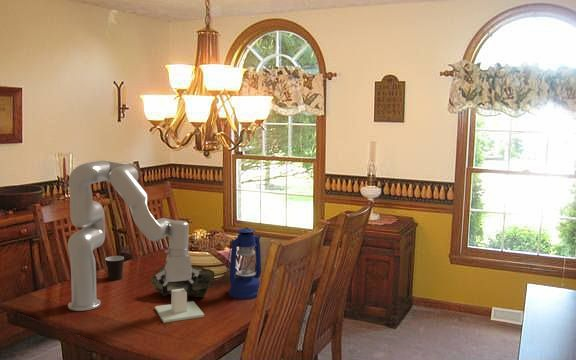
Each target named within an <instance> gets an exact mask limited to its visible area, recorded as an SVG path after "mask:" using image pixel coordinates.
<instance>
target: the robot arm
mask: <svg viewBox="0 0 576 360" xmlns="http://www.w3.org/2000/svg"><path fill="white" fill-rule="evenodd" d="M138 180H139V171H138V169H136V167H134V166H132V165H131V164H124V163H120V162H116V161H115V162H114V161H110V160H109V161H108V160H96V161H90V162H89V161H88V162H85V163H81V164H80V165H78V166H76V167H75V168H73V170H72V171H71V172H70V175H69V178H68V185H69V187H68V188H69V208H70V209H69V210H70V211H69V212H70V213H69V215H70V216H69V218H70V222H71V223H72V225H73V226H74V227H75V228H81V229H79V230H78V231H75V232H74V233H73V234H71V235H70V237H68V242H67V249H68V253H69V254H68V255H69V260H70V278H71V280H70V281H71V283H70V284H71V301H69V302H68V303H67V308H68V309H69V310H70V311H75V312H83V311H84V312H85V311H90V310H93V309H96V308H99V307H100V306H101V302H102V301H101V300H100V299H98V298H97V264H96V257H95V255H94V250H96V249H98V248H100V247H101V246H102V245H103V244H104V242H105V239H106V220H105V219H106V217H105V214H106V213H105V210H104V208H103V205H102V204H101V203H100V202H98V201H96V200H93V196H94V195H93V191H92V188H91V185H93V184H96V183H102V182H109V183H110V185H112V187H113V188H114V189H115V191H116V192H117V193H118V195H119V196H120V197H121V199H123V201H124V202H125V204H126V205H127V206H128V208H129V210H130V214H131V216H132V219H133V222H134V224H135V225H136V227H137V228H138V229H139V231H140V232H141V233H142V235H144V237H145V238H147V239H148V240H149V241H150V242H159V241H161V240H162V239H164V238H167V237H168V239H169V240H168V249H165V250H164V253H165V254H167V255H166V259H165V263H164V265H165V270H163V271H161V272H160V273H158V272H157V273H158V274H157V273H156V274H155V276H156V277H157V279H158V281H159V282H160V283H161V284H162V285H163V286H162V292H163V293H164V295H165V296H164V297H167V296H168V295H167V283H168V282H175V281H186V280H189V282H188V286H187V291H188V292H189V293H191V290H192V284H193V283H194V281H195V280H196V279H197V277H198V275H199V271H197V270H195V269H193V268H191V266H192V257H191V255H190V254H189V239H190V238H189V235H190V233H189V231H190V226H189V225H190V224H189V223H188V221H185V220H181V219H179V220H174V219H171V218H168V217H166V218H165V217H161V218H158V219H155V217H154V216H153V215H152V213H151V212H150V210H149V207H148V196H149V195H148V192H146V191H145V189H144V188H143V186H142V185H140V183H139V182H138ZM192 272H193V273H195V274H194V276H193V277H192ZM164 274H165V279H164V280H162V279H161V278H160V277H161V276H162V275H164ZM191 277H192V278H191Z"/></svg>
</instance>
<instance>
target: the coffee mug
mask: <svg viewBox="0 0 576 360" xmlns="http://www.w3.org/2000/svg"><path fill="white" fill-rule="evenodd" d="M124 263H125V257H124V256H121V255H114V256H113V255H112V256H107V257H106V258H105V266H106V267H105V268H106V274H107V280H108V281H113V282H116V281H121V280H122V279H123V275H124V274H123V271H124Z"/></svg>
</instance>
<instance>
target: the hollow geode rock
mask: <svg viewBox="0 0 576 360" xmlns="http://www.w3.org/2000/svg"><path fill="white" fill-rule="evenodd" d="M191 268H193V269H195V270H197V271H199V275H198V277H197V279H196V280H195V281H194V283H193V284H192V290H191V293H189V292H188V291H187V286H188V282H189V280H186V281H175V282H168V283H167V296H168V295H171V290H175V289H183V288H184V289H185V291H186V292H187V297H194V298H205V296H206V293H207V292H208V289H209V288H210V285H211V282H213V281H216V280H215V278H216V277H215V271H214V270H211V269H208V268H205V267H203V266H199V265H197V266H196V265H191ZM163 270H165V266H161V267H160V268H159V269H158V271H157V273H156V274H158V273H160V272H161V271H163ZM194 274H195V273H193V272H192V277H193V276H194ZM192 277H191V278H192ZM160 278H161V279H162V280H164V279H165V274H164V275H162V276H161V277H160ZM150 281H151V285H152V286H153V287H154V290H155V291H157V292H159V294H161V296H162V297H166V296H165V295H164V293H163V292H162V286H163V285H162V284H161V283H160V282H159V281H158V279H157V277H156V275H154V276H153V277H152V278H151V280H150Z"/></svg>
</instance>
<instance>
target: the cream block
mask: <svg viewBox="0 0 576 360" xmlns="http://www.w3.org/2000/svg"><path fill="white" fill-rule="evenodd" d="M170 295H171V298H170V299H171V301H170V302H171V309H172V311H173V312H174V313H180V312H187V302H188V296H187V292H186V291H185V289H184V288H183V289H175V290H171V294H170Z"/></svg>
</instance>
